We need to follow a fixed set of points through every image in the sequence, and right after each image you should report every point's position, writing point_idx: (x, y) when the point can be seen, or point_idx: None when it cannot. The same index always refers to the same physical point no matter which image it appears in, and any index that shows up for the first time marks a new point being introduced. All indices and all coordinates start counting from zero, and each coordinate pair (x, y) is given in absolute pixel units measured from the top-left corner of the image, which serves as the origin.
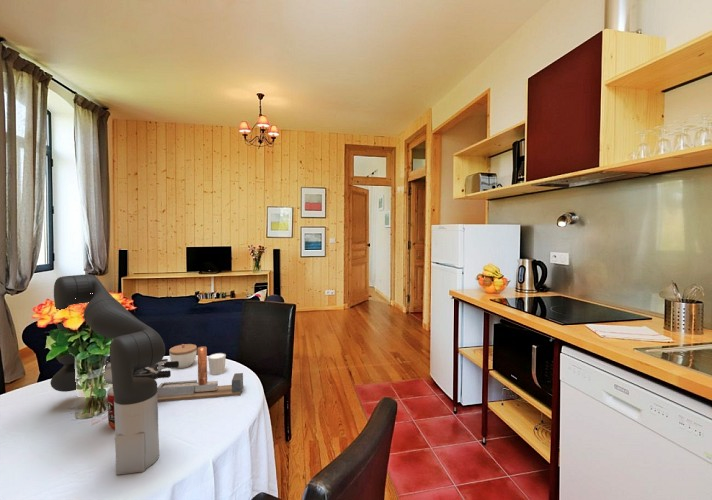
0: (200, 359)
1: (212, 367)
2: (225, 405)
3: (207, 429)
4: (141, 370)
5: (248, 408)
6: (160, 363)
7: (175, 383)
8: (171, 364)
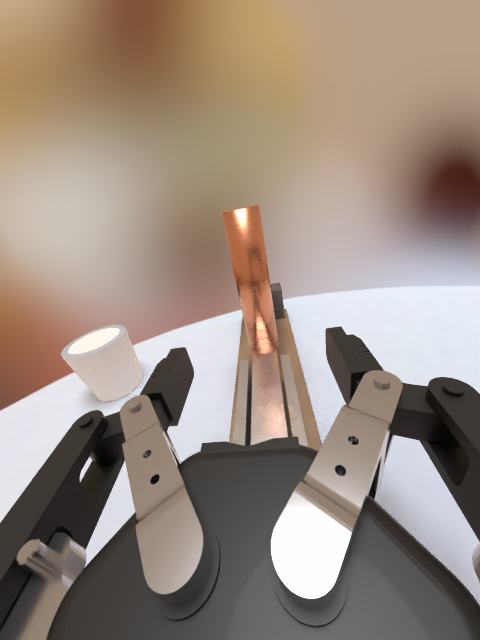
0: (265, 252)
1: (125, 368)
2: (334, 320)
3: (454, 315)
4: (378, 633)
5: (341, 295)
6: (163, 430)
7: (247, 426)
8: (177, 383)
